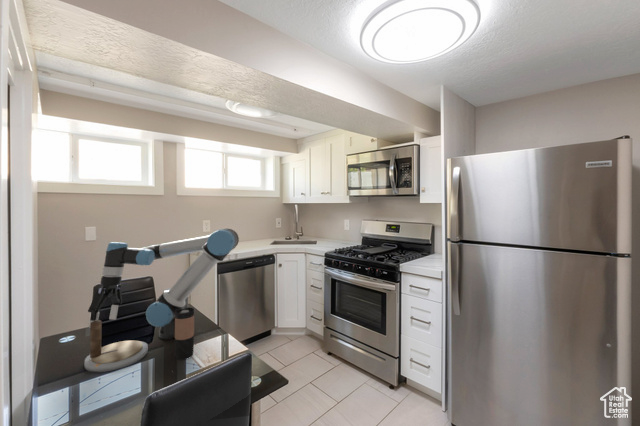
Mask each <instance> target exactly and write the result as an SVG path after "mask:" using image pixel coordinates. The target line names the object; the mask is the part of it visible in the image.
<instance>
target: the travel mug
mask: <svg viewBox="0 0 640 426" xmlns="http://www.w3.org/2000/svg"><path fill="white" fill-rule="evenodd" d="M194 340H195V308H194V307H188V308H186V309H178V310H176V311H175V339H174V356H175V357H174V358H175V359H176V360H178V361H182V360H184V361H185V360H186V359H187V358H188V359H189V357H190V358H192V357H193V356H194V346H195V345H194V343H195V341H194Z"/></svg>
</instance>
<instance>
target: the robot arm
mask: <svg viewBox="0 0 640 426" xmlns="http://www.w3.org/2000/svg"><path fill="white" fill-rule="evenodd" d="M239 241H240V238H239V234H238V233H237V231H235V230H233V229H232V228H223V229H222V228H221V229H216V230H215V231H214V232H212V233H210V234H209V235H204V236H197V237H192V238H188V239H187V238H186V239H181V240H175V241H169V242H166V243H159V244H152V245H149V246H144V247H139V248H138V247H128V246H129V245H128V243H126V242H121V241H119V242H116V241H112V242H109V243H108V245H107V247H106V251H105V259H104V264H103V267H102V276H101V278H100V283H99V284H100V285H102V287H101V288H97V289H96V293H95V295H94V297H93V299H92V301H91V304H90V305H89V307H88V309H87V313H91V316H90V319H89V325H88V329H90V323H91V322H93V321H97V320H100V319H99V317H100V310H101V308H102V307H103V305H104V303H105V302H106V300H107V299H109V298H110V300H111V302H112V305H111V306H110V313H109V318H108V319H109V320H117V317H118V311H119V306H121V305H122V303H123V295H122V294H123V293H122V284H121V283H122V278H123V277H122V276H123V274H124V273H123V272H124V266H125V265H135V266H150V265H152V263H153V262H154V261H155V260H160V259H166V258H172V257H179V256H181V255H182V256H183V255H188V254H192V253H193V254H194V253H200V254H199V255H198V256H197V257H196V258H195V260H194V261H193V262H192V263H191V265H189V267H188V268H186V270H185V271H184V273H182V274H181V276H180V277H179V279H178V280H177V281H176V282H175V283H174V284H173V286H171V287H170V288H168V289H165V290H163V292H162V293H161V294H160V296H158V298H157V299H156V300H155V301H154V302H153V303H150V305H149V306H148V307H147V309H146V311H145V316H146V317H145V318H146V320H147V322H148V324H149V325H151V326H153V327H154V328H155V327H156V328H159V329H158V330H159V331H158V337H159V338H160V339H163V340H174V339H173V338H175V311H176V310H178V309H186V308H189V296H190V295H191V294H192V293H193V292H194V290H195V289H197V287H198V286H199V285H200V283H202V281H203V280H204V278H205V277H206V276H207V275H208V274H209V272H210V271H211V270H212V269H213V268H214V267H215V266H216V264H217V263H219V262H224V260H225V259H226V258H227V256H228V255H229V254H230V253H231V252H232V251H233V250H235V248H236V247H238V245H239Z"/></svg>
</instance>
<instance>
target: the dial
mask: <svg viewBox="0 0 640 426" xmlns="http://www.w3.org/2000/svg"><path fill="white" fill-rule="evenodd" d="M89 324H90V328H89V329H90V330H89V333H90V334H89V338H90V339H89V355H90V358H91V361H92V362H94V363H100V364H103V363H112V362H117V361H121V360H124V359H127V358H129V357H131V356H133V355H135V354H137V353H138V352H140V351H141V350H142V348H143V344H142V342H143V341H141V342H140V340H134V339H133V340H123V341H121V340H120V341H118V342H117V341H116V342H113V343H109V344H107V345H104V346H102V324H103V323H102V320H100V319H98V320H97V321H93V322H91V323H90V322H89Z"/></svg>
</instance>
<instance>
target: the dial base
mask: <svg viewBox="0 0 640 426" xmlns="http://www.w3.org/2000/svg"><path fill="white" fill-rule="evenodd" d="M139 341H140V340H139ZM140 342H142V344H143V348H142V350H141V351H140V352H138V353H137V354H135V355H133V356H131V357H129V358H127V359H124V360H121V361H117V362H112V363H103V364H100V363H94V362H92V361H91V358H90V354H89V355H87V356H86V357H85V358H84V369H85V370H86V371H87V372H94V373H102V372H109V371H114V370H119V369H121V368H125V367H128V366H130V365H132V364H135V363H137V362H139V361H141V360H142V359H143V358H144V357H145V356H146V355H148V352H149V347H148V343H147V342H145V341H140Z"/></svg>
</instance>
